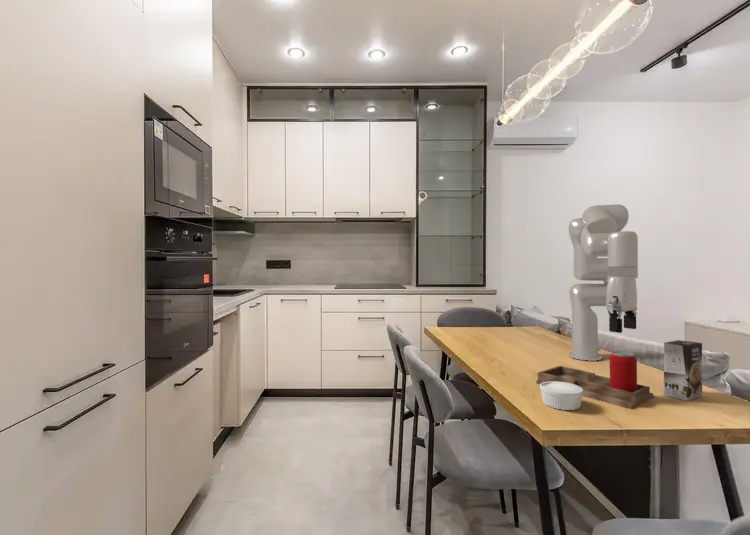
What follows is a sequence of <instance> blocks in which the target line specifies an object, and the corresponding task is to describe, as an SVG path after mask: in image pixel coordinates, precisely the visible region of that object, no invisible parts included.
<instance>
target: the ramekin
mask: <svg viewBox="0 0 750 535" xmlns="http://www.w3.org/2000/svg"><path fill="white" fill-rule="evenodd" d="M539 388H540V392H541V399H542V401H543V403H544V404H545V406H547V405H548V406H547V407H549V406H550V407H549V408H551V407H553V408H552V409H554V408H556V409H555V410H558V409H561V410H560V411H565V410H573V411H576V410H575V409H577V410H578V409H579V408H581V405H582V398H583V396H582V395H583V389H582V388H581V387H579V386H577V385H575V384H571V383H566V382H557V381H549V382H543V383H541V384H539Z"/></svg>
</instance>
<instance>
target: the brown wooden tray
mask: <svg viewBox="0 0 750 535" xmlns="http://www.w3.org/2000/svg"><path fill="white" fill-rule="evenodd" d="M535 381H536V384H537V385H540V384H541V383H543V382H549V381H557V382H566V383H571V384H575V385H577V386H579V387H581V388H582V389H583V395H582V397H585V396H586V398H589V397H590V398H589V399H592V398H594V399H593V400H596V399H597V400H596V401H600V400H601V401H600V402H603V401H605V402H604V403H607V402H608V404H611V403H612V404H611V405H614V404H615V406H618V405H619V407H623V408H625V407H626V408H627V409H629V408H630V409H629V410H631V408H632V409H634V408H635V407H637V406H638V404H639V405H641V404H642V402H643V403H644V402H646V401H648V400H650V399H651V398H653V397H654V393H653V392H651V390H650V386H648V385H643V384H639V383H637V390H636V391H634V392H628V391H624V390H620V389H615V388H611V387H610V377H606V376H602V375H597V374H596V372H595V373H594V372H590V371H586V370H582V369H577V368H574V367H573V368H572V367H568V366H563V365H558V366H554V367H552V368H548V369H545V370H541V371H538V372H537V380H535ZM640 403H641V404H640ZM636 405H637V406H636Z"/></svg>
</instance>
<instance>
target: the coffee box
mask: <svg viewBox="0 0 750 535" xmlns="http://www.w3.org/2000/svg"><path fill="white" fill-rule="evenodd" d="M663 396H668V397H671V398H675V399H678V400H681V401H685V402H689V401H693V400H695V399H698V398H701V397H703V343H702V342H696V341H691V340H690V341H688V340H679V339H677V340H676V339H675V340H672V341H666V342H663Z"/></svg>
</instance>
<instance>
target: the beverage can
mask: <svg viewBox="0 0 750 535" xmlns="http://www.w3.org/2000/svg"><path fill="white" fill-rule="evenodd" d="M637 363H638V361H637V359H636V357H635V354H634V353H631V352H627V351H613V352H612V354H610V356H609V378H610V387H611V388H615V389H620V390H624V391H628V392H634V391H636V390H637V384H638V364H637Z"/></svg>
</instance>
